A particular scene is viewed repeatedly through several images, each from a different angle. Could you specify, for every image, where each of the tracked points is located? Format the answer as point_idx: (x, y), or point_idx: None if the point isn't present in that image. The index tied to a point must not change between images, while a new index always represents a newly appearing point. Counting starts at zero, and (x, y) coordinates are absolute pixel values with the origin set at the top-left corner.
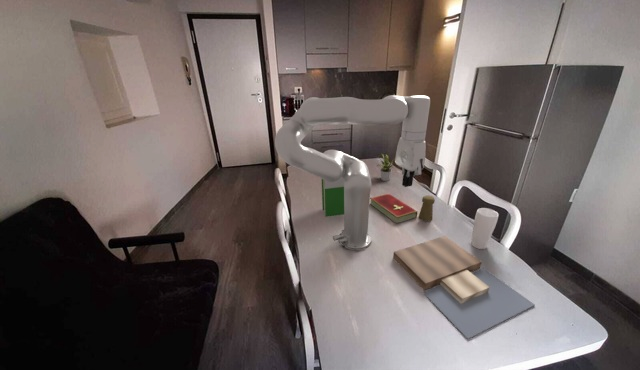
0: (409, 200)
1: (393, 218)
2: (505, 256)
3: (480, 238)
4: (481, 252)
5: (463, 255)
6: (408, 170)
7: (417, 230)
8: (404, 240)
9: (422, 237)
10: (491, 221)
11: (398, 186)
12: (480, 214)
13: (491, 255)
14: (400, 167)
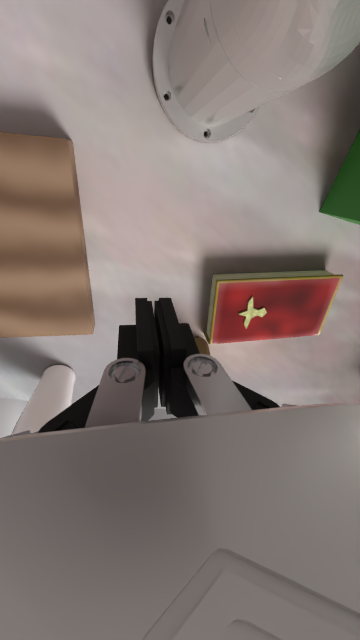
0: (266, 362)
1: (228, 277)
2: (14, 391)
3: (38, 387)
4: (36, 365)
5: (4, 320)
6: (29, 434)
7: None
8: (137, 241)
9: (129, 293)
10: None
11: (325, 376)
12: None
13: (23, 373)
14: (293, 405)
